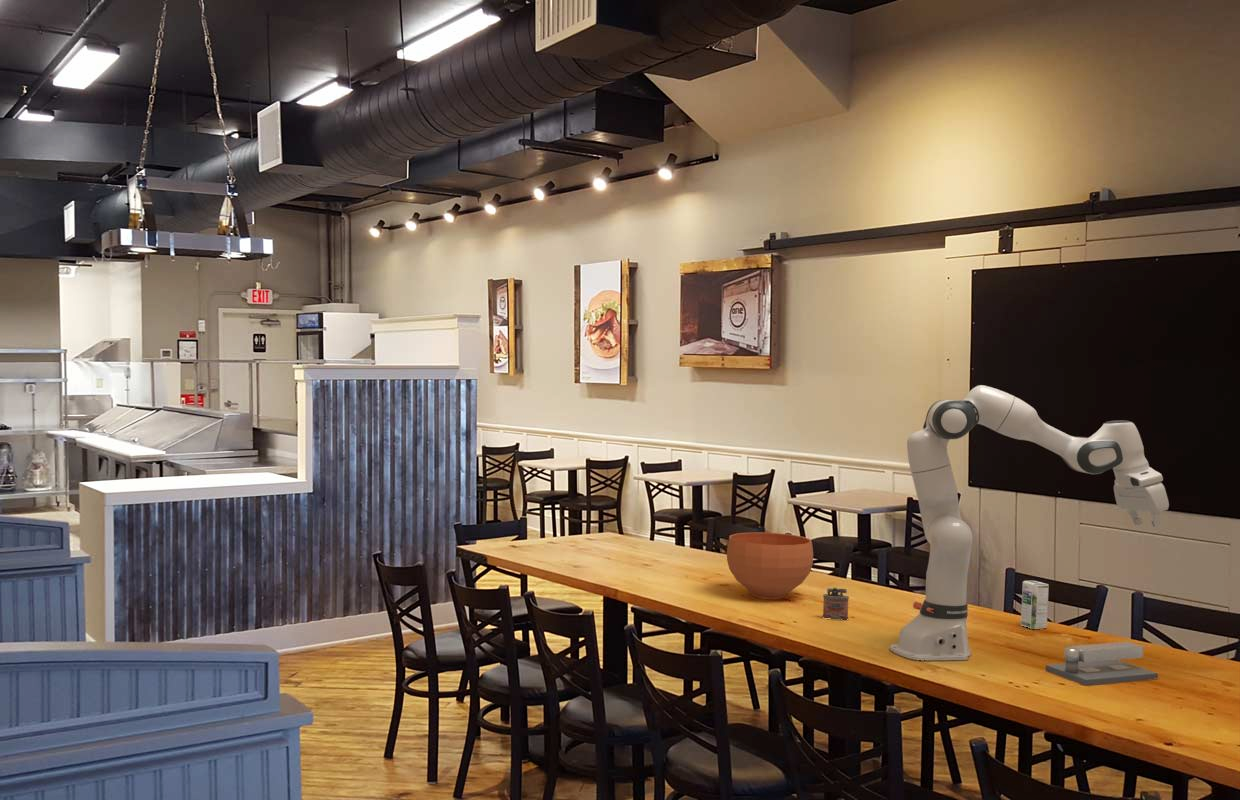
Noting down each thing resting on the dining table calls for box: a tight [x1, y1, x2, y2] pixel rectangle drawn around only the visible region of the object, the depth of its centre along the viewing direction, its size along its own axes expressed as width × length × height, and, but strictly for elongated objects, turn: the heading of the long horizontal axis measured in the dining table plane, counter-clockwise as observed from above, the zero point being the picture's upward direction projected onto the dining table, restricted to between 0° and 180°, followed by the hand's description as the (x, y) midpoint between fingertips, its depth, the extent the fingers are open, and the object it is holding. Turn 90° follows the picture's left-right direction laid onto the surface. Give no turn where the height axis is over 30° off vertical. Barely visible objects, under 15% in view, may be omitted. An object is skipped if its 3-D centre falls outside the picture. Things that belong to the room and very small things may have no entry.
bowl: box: [726, 531, 814, 600], centre depth 355 cm, size 30×30×20 cm
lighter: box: [822, 586, 850, 621], centre depth 323 cm, size 8×3×10 cm, turn 76°
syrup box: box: [1020, 580, 1050, 630], centre depth 318 cm, size 6×6×14 cm
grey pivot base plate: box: [1045, 660, 1159, 687], centre depth 266 cm, size 24×14×4 cm, turn 110°
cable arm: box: [1064, 641, 1144, 662], centre depth 266 cm, size 23×5×3 cm, turn 110°
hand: (1148, 525), depth 275 cm, fingers open, 8 cm apart
